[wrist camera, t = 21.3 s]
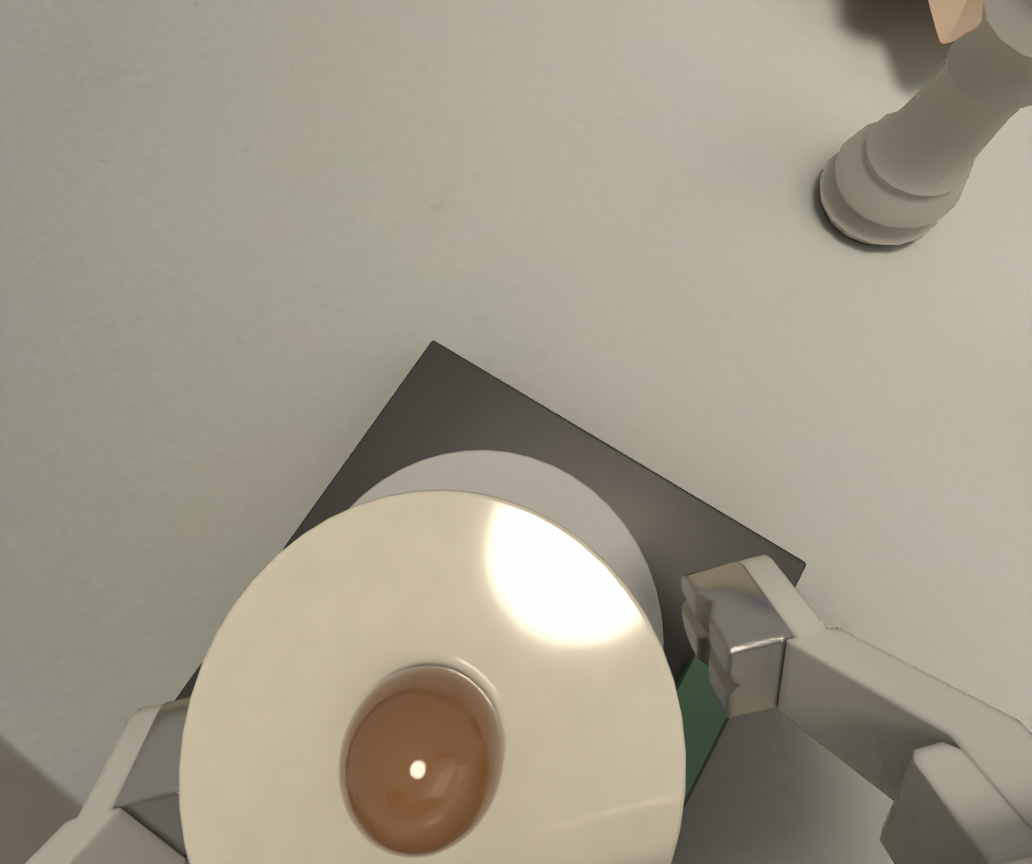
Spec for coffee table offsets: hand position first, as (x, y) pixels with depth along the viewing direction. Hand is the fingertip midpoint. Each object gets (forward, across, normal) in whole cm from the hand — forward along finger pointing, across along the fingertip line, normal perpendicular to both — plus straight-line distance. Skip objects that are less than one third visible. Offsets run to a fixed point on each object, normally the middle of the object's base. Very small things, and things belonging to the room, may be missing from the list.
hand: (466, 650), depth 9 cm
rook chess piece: (+13, -17, -2) cm, 22 cm away
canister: (+3, 0, +4) cm, 5 cm away
